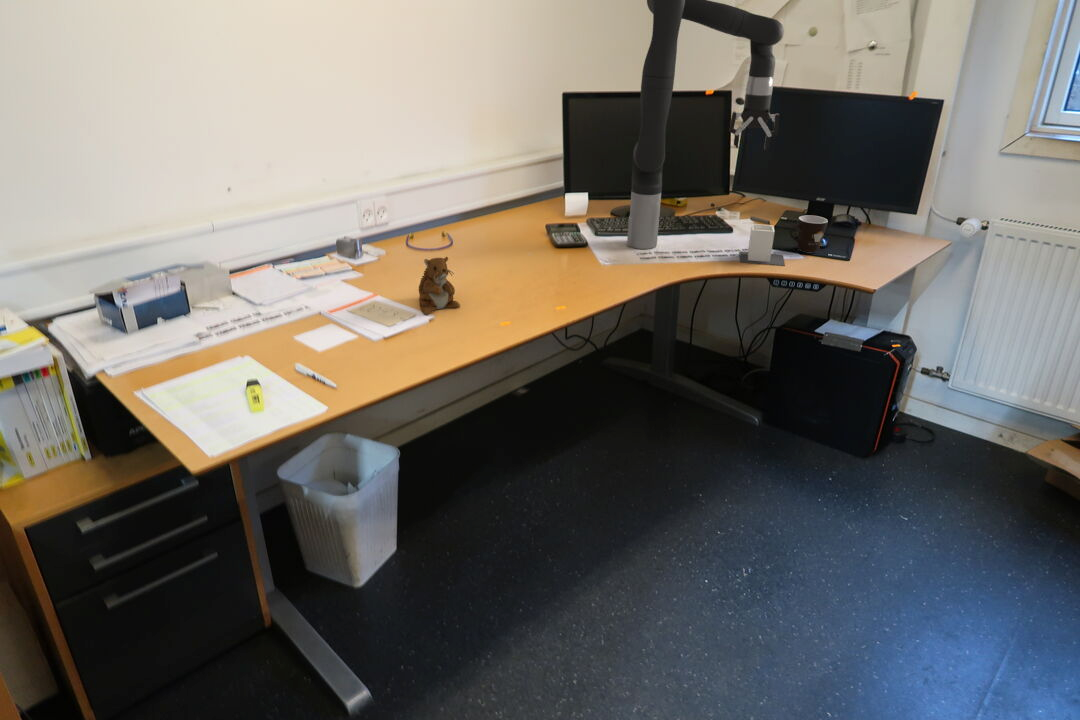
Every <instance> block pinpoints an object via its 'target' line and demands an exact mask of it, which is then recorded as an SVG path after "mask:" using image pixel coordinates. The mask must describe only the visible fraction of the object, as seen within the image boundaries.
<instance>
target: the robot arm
mask: <svg viewBox="0 0 1080 720" xmlns="http://www.w3.org/2000/svg"><path fill="white" fill-rule="evenodd" d="M646 4H647V7H648V10H649V11H650V12H651V13H652V17H653V18H652V19H653V20H652V35H651V40H650V44H649V48H648V49H647V53H646V56H645V59H644V62H643V63H644V64H643V67H642V73H641V84H640V117H641V118H640V119H641V120H640V128H639V129H640V131H639V136H638V141H637V142H636V143H635V146H634V148H633V154H632V167H631V168H632V170H631V171H632V172H631V190H630V191H631V192H630V193H631V195H630V207H629V208H630V209H629V216H628V224H627V236H626V237H627V239H626V247H631V248H633V249H634V248H635V249H639V250H641V249H642V250H651V249H654V248H656V247H658V246H657V245H658V234H659V222H660V212H661V202H662V201H661V199H662V190H663V189H662V188H663V165H664V163H665V160H666V130H667V122H668V116H669V113H670V112H669V111H670V107H671V102H672V97H673V96H672V95H673V89H674V83H675V75H676V74H675V73H676V64H677V63H676V62H677V51H678V38H679V33H680V28H681V27H680V26H681V23H682V20H685V21H689V22H693V23H696V24H699V25H702V26H704V27H708V28H710V29H712V30H715V31H718V32H721V33H724V34H726V35H730V36H732V37H736V38H744V39H747V40H749V41H750V64H749V71H748V77H747V81H746V87H745V95H744V102H743V108H742V109H743V110H742V112H737V111H733V112H731V119H730V124H729V130H728V131H729V134H733V136H734V139H733V146H734V147H735V148H736V149H738V148H739V141H740V134H741V133H742V132H743V131H744V130H745V129H746V127H747V128H748V129H753V128H754V129H758V130H759V129H761V128H762V129H763V131H764V133H765V134H766V135H765V140H764V146H763V150H767V149H769V148H770V145H771V139H772V137H773V136H778V134H779V126H780V114H779V113H778V112H777V113H772V114H771V113H770V109H771V103H772V95H773V89H774V88H773V87H774V75H775V66H776V58H775V56H774V54H773V50H774V48H773V46H775V45H776V44H778V43H779V42H780V41H782V39H783V37H784V33H785V29H784V27H783V24H782V23H781V21H779V20H778V19H775V18H773V17H768V16H764V15H760V14H755V13H752V12H750V11H747V10H746V9H742V8H739V7H736V6H732V5H730V4H726V3H721V2H717V1H713V0H646ZM739 118H741V119H742V121H743V122H742V123H741V124H740V125H739V126H738V127H737V128H735V124H736V121H737V120H739ZM770 119H771V121H772V122H773V130H770V129H769V127H768V125H767V122H768V121H769V120H770Z"/></svg>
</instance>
